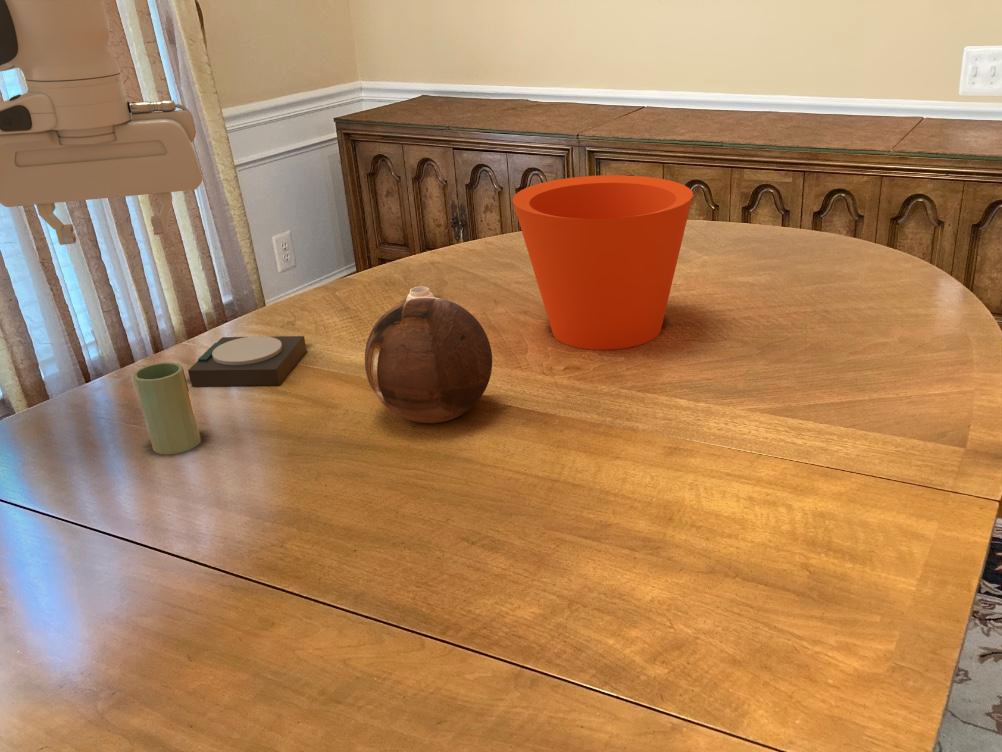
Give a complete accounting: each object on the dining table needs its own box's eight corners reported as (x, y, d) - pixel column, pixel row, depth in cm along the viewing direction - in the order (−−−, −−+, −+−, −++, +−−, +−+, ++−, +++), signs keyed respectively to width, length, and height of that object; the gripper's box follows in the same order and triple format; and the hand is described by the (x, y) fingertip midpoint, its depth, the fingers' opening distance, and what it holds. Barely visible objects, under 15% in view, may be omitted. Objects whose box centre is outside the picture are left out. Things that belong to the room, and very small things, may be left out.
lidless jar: (442, 308, 155) (429, 299, 159) (440, 290, 154) (427, 282, 158) (413, 314, 153) (400, 306, 157) (410, 296, 152) (398, 288, 155)
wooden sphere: (487, 385, 128) (477, 274, 121) (505, 435, 115) (495, 314, 108) (371, 400, 125) (354, 287, 118) (376, 453, 112) (357, 330, 105)
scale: (191, 386, 131) (186, 366, 129) (225, 352, 141) (221, 333, 140) (279, 385, 130) (275, 364, 129) (307, 351, 141) (303, 331, 139)
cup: (147, 460, 113) (124, 380, 108) (166, 439, 117) (145, 362, 112) (191, 460, 112) (170, 380, 108) (209, 439, 117) (189, 361, 112)
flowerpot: (604, 290, 160) (600, 168, 151) (725, 325, 145) (730, 190, 135) (487, 333, 145) (475, 199, 136) (609, 377, 129) (604, 229, 120)
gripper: (189, 94, 106) (215, 221, 112) (-23, 108, 100) (18, 241, 107) (188, 102, 101) (216, 234, 107) (-36, 117, 95) (8, 256, 101)
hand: (115, 238), depth 107 cm, fingers open, 8 cm apart
